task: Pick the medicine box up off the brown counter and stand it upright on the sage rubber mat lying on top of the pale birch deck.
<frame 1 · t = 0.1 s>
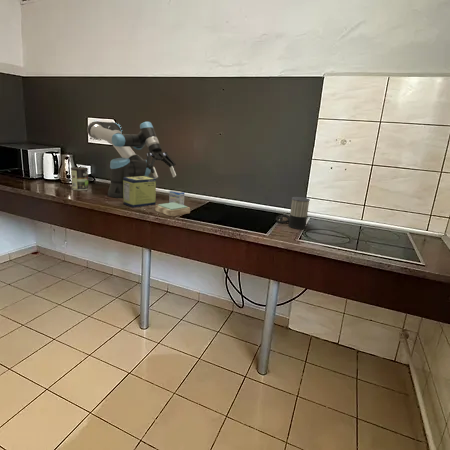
hand: (165, 177, 199), 15 cm above the countertop, tool tilted 35°, fingers open, 13 cm apart
medicine box: (176, 206, 196), on the countertop
mat: (172, 206, 181), on the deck, point 3 cm above the countertop
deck: (172, 211, 181), on the countertop
protein box: (139, 204, 193), on the countertop
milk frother: (290, 225, 174), on the countertop
coffee can: (80, 189, 222), on the countertop
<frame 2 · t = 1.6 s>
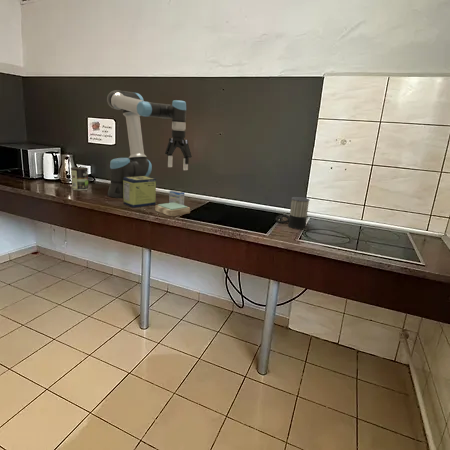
hand: (177, 168, 190), 22 cm above the countertop, tool pointing down, fingers open, 13 cm apart
nothing on the countertop moved.
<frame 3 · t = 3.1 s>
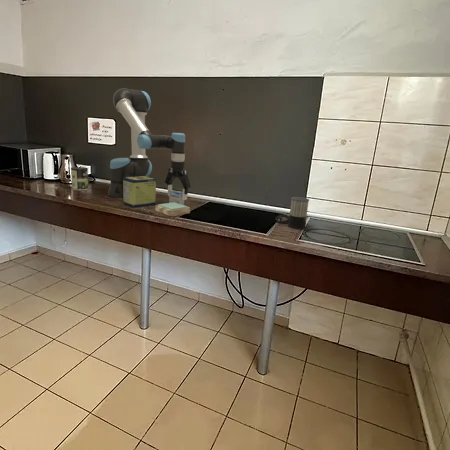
hand: (177, 197, 194), 5 cm above the countertop, tool pointing down, fingers open, 13 cm apart
nothing on the countertop moved.
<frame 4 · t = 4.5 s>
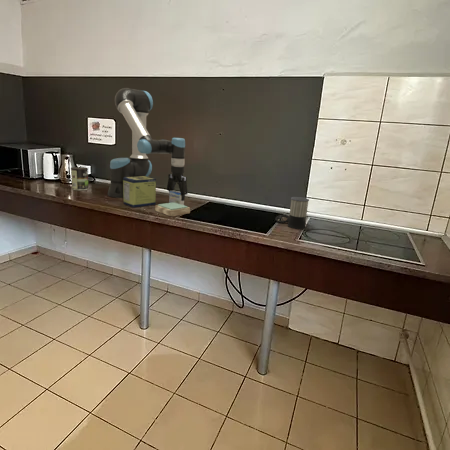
hand: (176, 204, 196), 1 cm above the countertop, tool pointing down, fingers closed on medicine box, 9 cm apart
medicine box: (176, 206, 196), on the countertop, touching gripper
everything else where it was.
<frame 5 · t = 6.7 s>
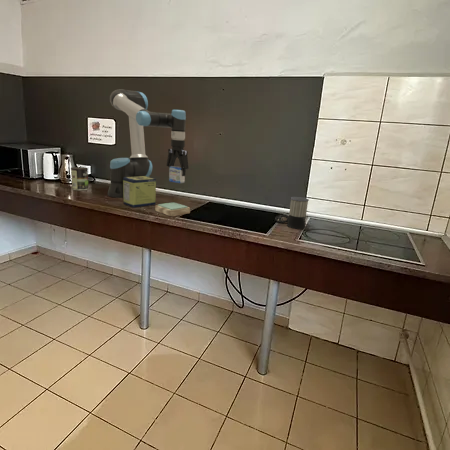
hand: (176, 180, 188), 16 cm above the countertop, tool pointing down, fingers closed on medicine box, 9 cm apart
medicine box: (176, 182, 189), point 14 cm above the countertop, touching gripper
everything else where it was.
when the fingers open (6 cm above the countertop, at t = 9.2 s): medicine box drops 1 cm, resting on mat.
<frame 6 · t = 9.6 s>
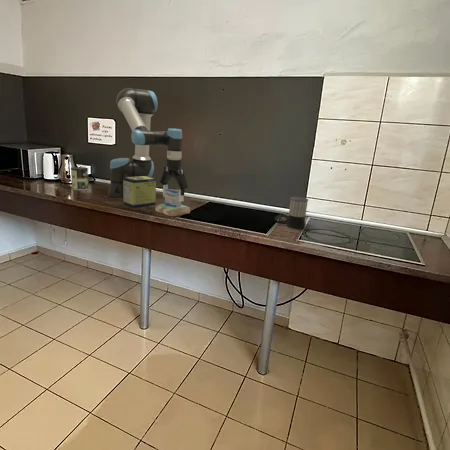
hand: (172, 198, 179), 7 cm above the countertop, tool pointing down, fingers open, 13 cm apart
medicine box: (172, 205, 180), point 3 cm above the countertop, touching mat
everything else where it was.
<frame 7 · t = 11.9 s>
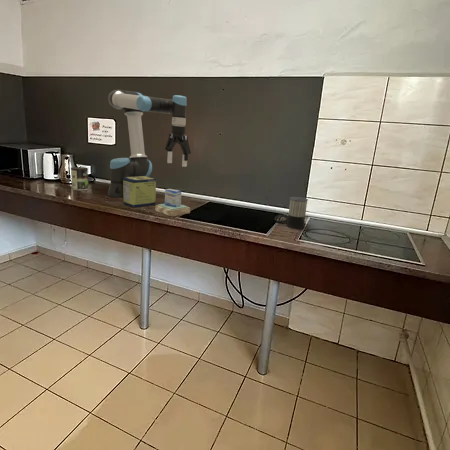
hand: (176, 164, 187), 24 cm above the countertop, tool pointing down, fingers open, 13 cm apart
nothing on the countertop moved.
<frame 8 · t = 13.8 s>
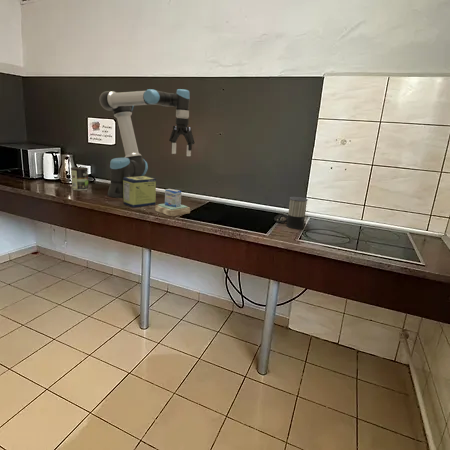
hand: (181, 155, 199), 29 cm above the countertop, tool pointing down, fingers open, 13 cm apart
nothing on the countertop moved.
at the end: medicine box inside the target area on the mat (0.1 cm from its centre), point 3.4 cm above the mat's base; medicine box tilted 0° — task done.
